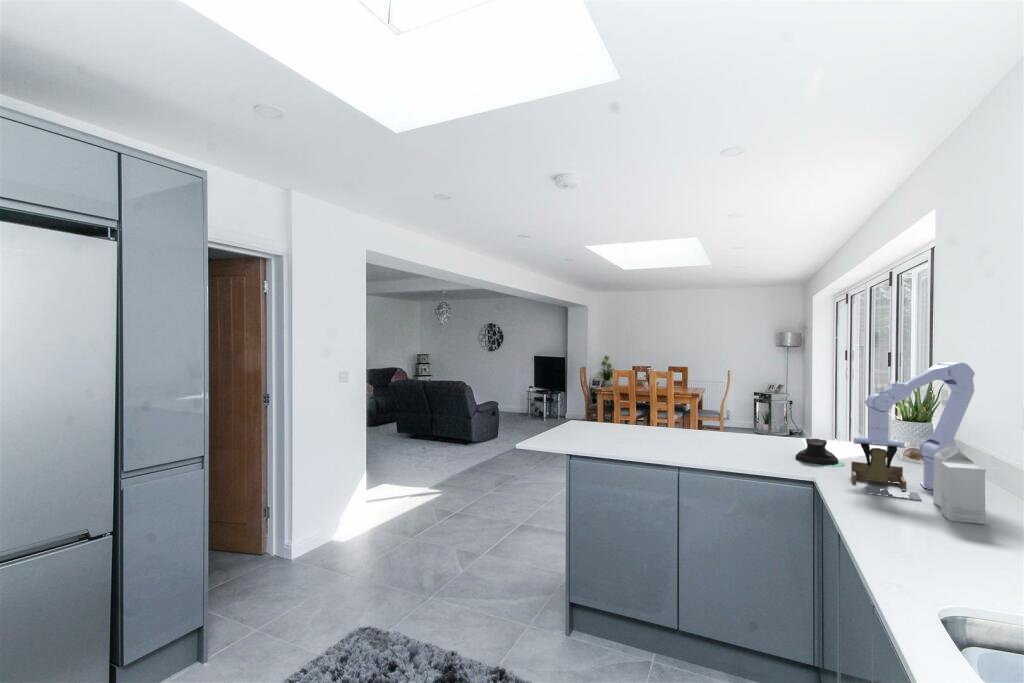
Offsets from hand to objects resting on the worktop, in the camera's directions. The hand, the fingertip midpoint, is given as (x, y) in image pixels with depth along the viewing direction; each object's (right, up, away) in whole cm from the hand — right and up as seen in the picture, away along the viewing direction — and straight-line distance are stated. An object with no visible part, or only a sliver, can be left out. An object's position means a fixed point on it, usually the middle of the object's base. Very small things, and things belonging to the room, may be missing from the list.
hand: (878, 466), depth 176 cm
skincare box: (-1, -7, -34) cm, 35 cm away
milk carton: (+5, -7, -24) cm, 26 cm away
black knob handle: (0, -7, +35) cm, 35 cm away
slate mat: (-3, -7, -11) cm, 13 cm away
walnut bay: (0, -7, 0) cm, 7 cm away
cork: (0, -5, 0) cm, 5 cm away
